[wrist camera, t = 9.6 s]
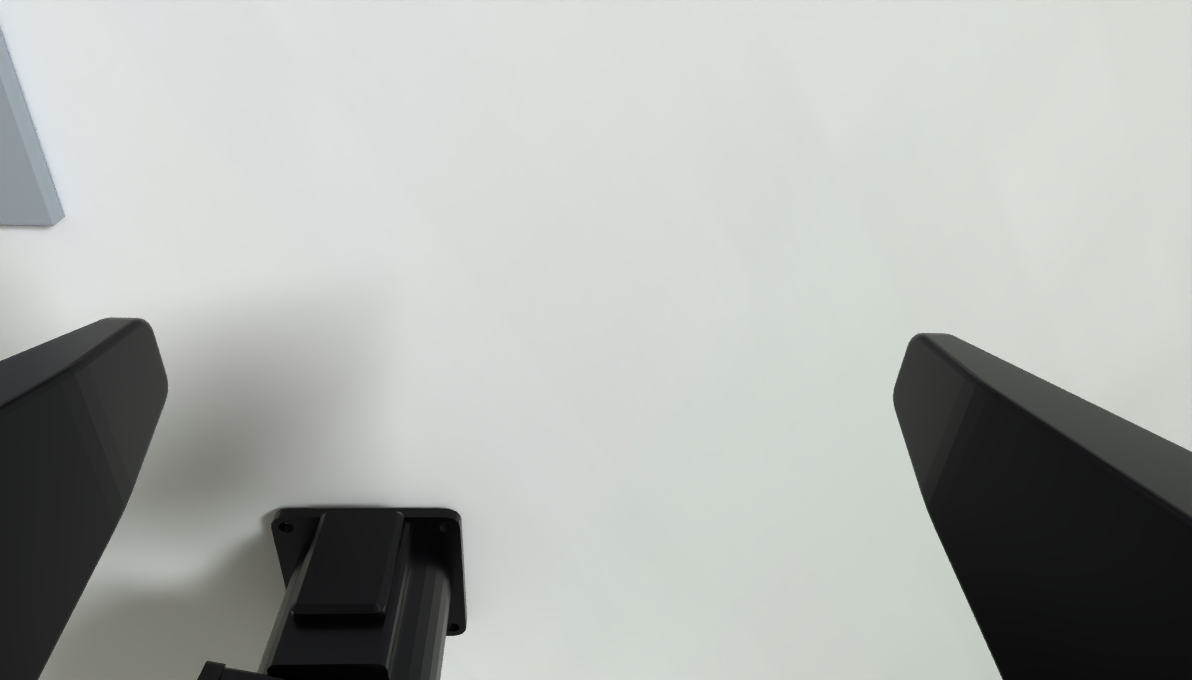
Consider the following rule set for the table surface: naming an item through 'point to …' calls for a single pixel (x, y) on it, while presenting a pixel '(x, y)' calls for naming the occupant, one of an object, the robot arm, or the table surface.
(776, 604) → the table surface
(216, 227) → the table surface
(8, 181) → the plate
